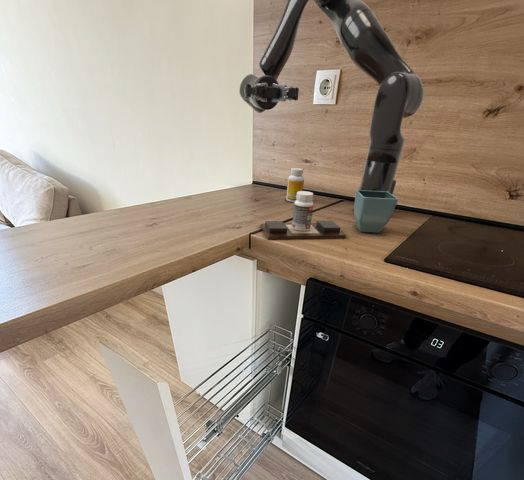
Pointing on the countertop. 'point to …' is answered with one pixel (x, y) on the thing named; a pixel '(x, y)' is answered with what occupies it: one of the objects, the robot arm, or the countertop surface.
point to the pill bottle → (302, 211)
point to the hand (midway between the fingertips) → (276, 92)
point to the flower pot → (373, 209)
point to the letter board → (287, 232)
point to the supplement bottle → (294, 184)
